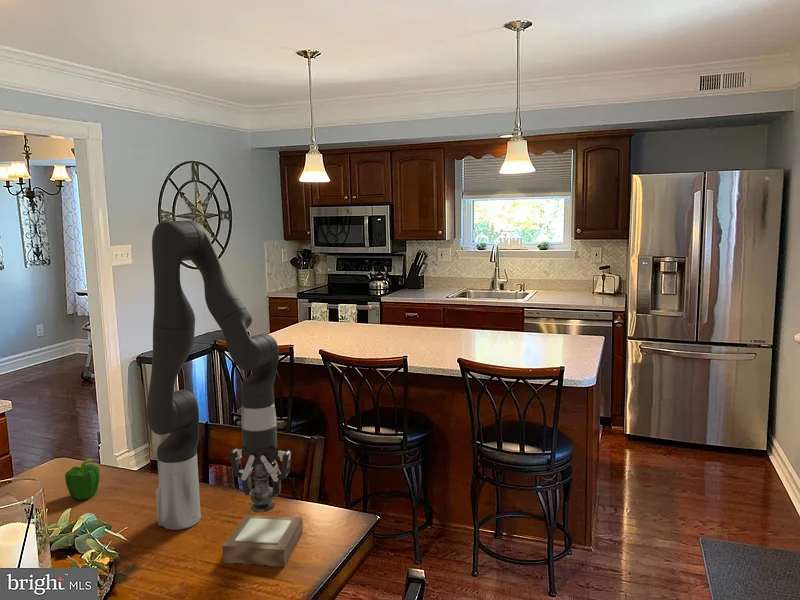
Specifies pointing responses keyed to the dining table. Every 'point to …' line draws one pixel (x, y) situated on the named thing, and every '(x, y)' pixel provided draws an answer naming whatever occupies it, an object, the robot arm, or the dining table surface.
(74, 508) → the dining table surface
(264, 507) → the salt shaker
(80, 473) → the bell pepper
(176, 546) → the dining table surface
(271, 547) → the base block
